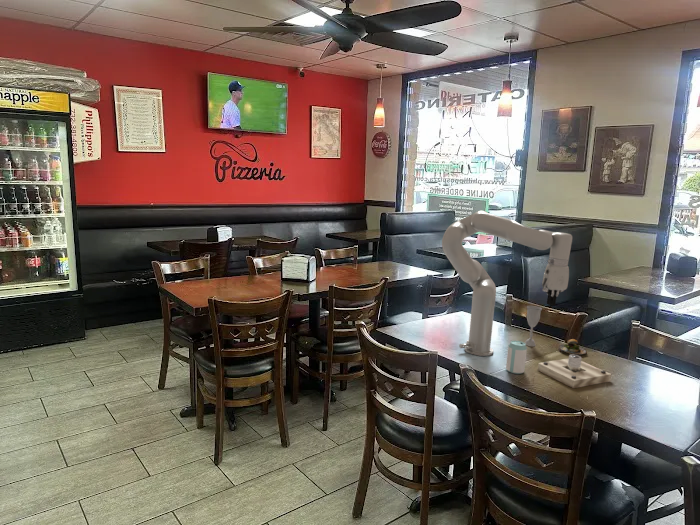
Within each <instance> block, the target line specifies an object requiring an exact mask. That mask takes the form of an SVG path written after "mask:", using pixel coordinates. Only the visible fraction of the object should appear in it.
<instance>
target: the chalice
mask: <svg viewBox="0 0 700 525" xmlns="http://www.w3.org/2000/svg"><path fill="white" fill-rule="evenodd" d="M526 309H527V311H526V319H527V320H526V321H527V324H528V326H529V327H530V330H529V335H528V336H529V338H527V339H526V340H525V341H524V343H525V344H526V347H527V346H528V347H536V346H537V345H536V342H535V340H534V339H533V335H534V334H533V332H534V328H535V327H536V326H537V325H538V323H539V321H540V319H541V311H542V309H543V308H542V307H540V306H537V305H527V306H526Z"/></svg>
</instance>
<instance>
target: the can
mask: <svg viewBox="0 0 700 525" xmlns="http://www.w3.org/2000/svg"><path fill="white" fill-rule="evenodd" d="M507 347H508V348H507V356H506V367H505V369H506V370H507V371H508V372H509V373H511V374H514V375H515V374H516V375H521V374H523V373H524V372H525V368H526V361H527V360H526V358H527V352H528V351H527V350H528V347H527V345H526V344H525V341H524V342H523V341H521V340H511V341H510V343H509V344H508V346H507Z"/></svg>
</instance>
